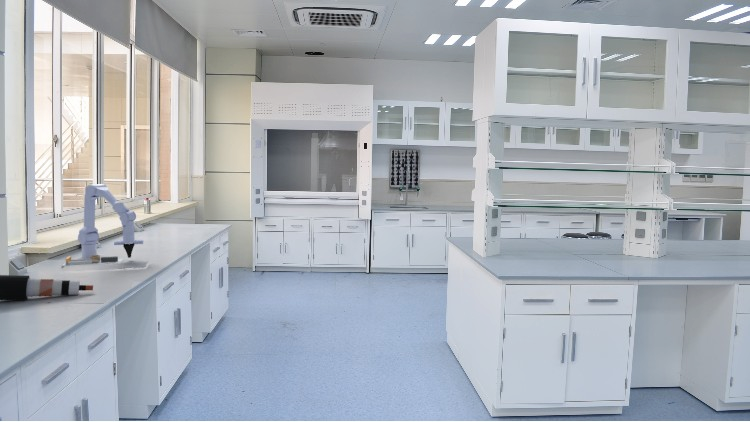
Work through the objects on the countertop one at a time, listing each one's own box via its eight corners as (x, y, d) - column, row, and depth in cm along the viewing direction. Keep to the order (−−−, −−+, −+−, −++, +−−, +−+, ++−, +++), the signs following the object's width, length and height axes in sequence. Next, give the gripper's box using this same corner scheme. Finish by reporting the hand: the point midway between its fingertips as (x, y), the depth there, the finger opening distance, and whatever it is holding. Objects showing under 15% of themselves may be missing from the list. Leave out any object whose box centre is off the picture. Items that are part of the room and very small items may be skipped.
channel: (66, 263, 286) (66, 255, 286) (123, 261, 295) (122, 253, 294) (61, 267, 276) (61, 259, 275) (120, 264, 284) (119, 256, 284)
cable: (91, 304, 224) (92, 286, 219) (-5, 305, 209) (-5, 286, 204) (93, 289, 232) (94, 271, 227) (0, 289, 216) (0, 269, 212)
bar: (101, 261, 287) (101, 257, 287) (117, 260, 290) (117, 256, 290) (101, 262, 285) (100, 257, 285) (117, 261, 288) (117, 257, 287)
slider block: (91, 261, 286) (91, 254, 286) (99, 260, 288) (99, 254, 287) (90, 262, 283) (90, 255, 283) (98, 261, 284) (98, 255, 284)
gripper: (112, 234, 283) (113, 259, 284) (142, 233, 288) (142, 258, 289) (114, 232, 290) (115, 257, 291) (143, 231, 294) (144, 255, 296)
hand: (129, 257), depth 290 cm, fingers closed
